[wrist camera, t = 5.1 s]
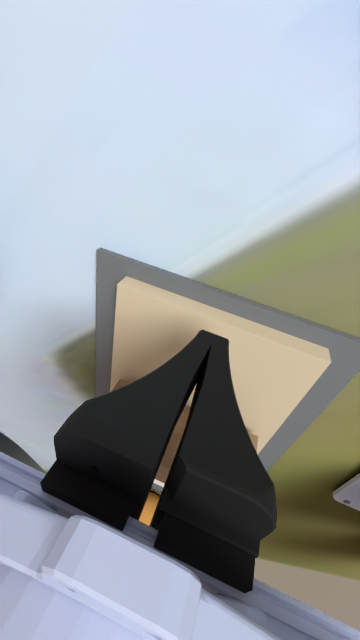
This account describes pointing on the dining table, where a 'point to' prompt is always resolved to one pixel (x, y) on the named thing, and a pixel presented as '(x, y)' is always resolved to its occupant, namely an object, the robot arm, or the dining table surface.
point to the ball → (149, 508)
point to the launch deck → (244, 347)
